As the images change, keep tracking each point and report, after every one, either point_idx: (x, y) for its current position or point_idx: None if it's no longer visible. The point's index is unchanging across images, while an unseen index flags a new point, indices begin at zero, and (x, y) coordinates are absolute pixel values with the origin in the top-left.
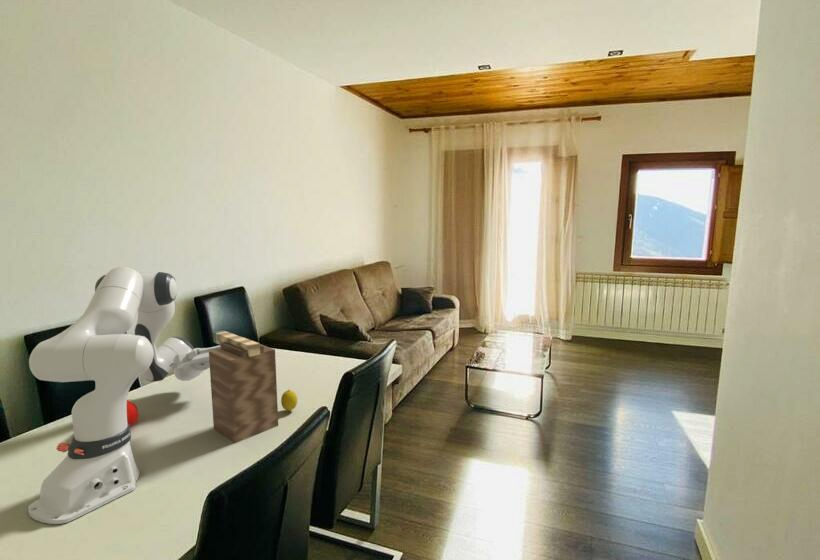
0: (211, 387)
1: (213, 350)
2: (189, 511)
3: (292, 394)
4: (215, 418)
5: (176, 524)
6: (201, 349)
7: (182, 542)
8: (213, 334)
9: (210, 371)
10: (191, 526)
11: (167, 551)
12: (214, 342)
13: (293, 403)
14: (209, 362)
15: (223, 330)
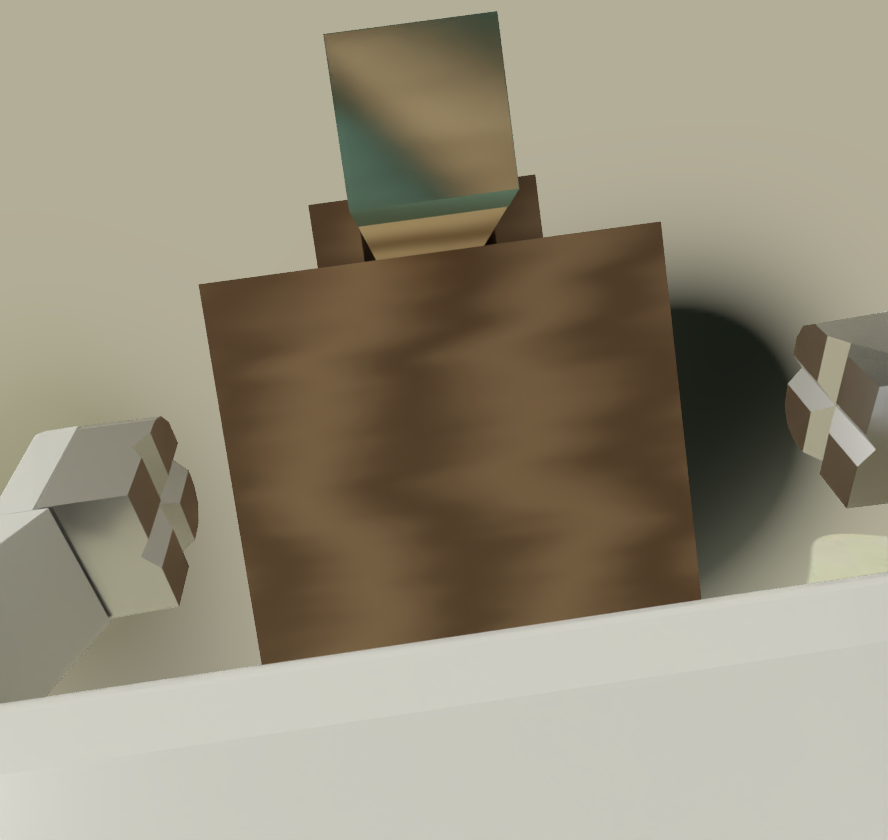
0: (696, 574)
1: (615, 228)
2: (826, 577)
3: None
4: None
5: (855, 562)
6: (765, 594)
7: (829, 541)
8: (501, 51)
9: (679, 421)
10: (814, 556)
11: (859, 535)
12: (515, 191)
13: None
14: (672, 334)
15: (329, 38)
